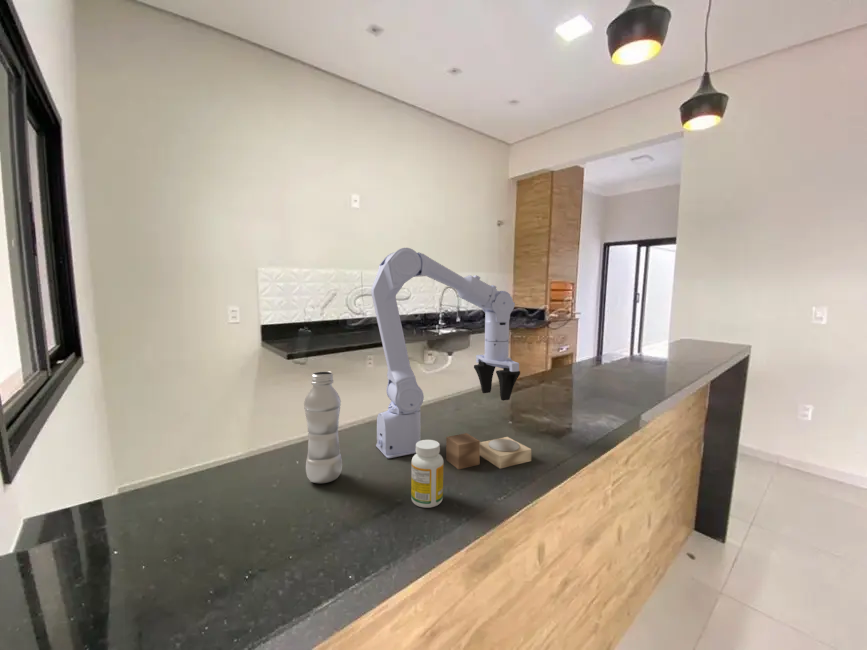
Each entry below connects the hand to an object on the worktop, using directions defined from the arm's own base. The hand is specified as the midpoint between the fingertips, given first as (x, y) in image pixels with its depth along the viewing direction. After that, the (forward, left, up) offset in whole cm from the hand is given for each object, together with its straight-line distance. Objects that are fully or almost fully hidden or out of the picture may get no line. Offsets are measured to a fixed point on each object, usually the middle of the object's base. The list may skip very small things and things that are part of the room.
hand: (495, 396), depth 92 cm
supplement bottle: (-28, -19, -10) cm, 35 cm away
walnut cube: (-15, -9, -10) cm, 20 cm away
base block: (-6, -11, -10) cm, 16 cm away
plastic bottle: (-42, -4, -10) cm, 43 cm away
